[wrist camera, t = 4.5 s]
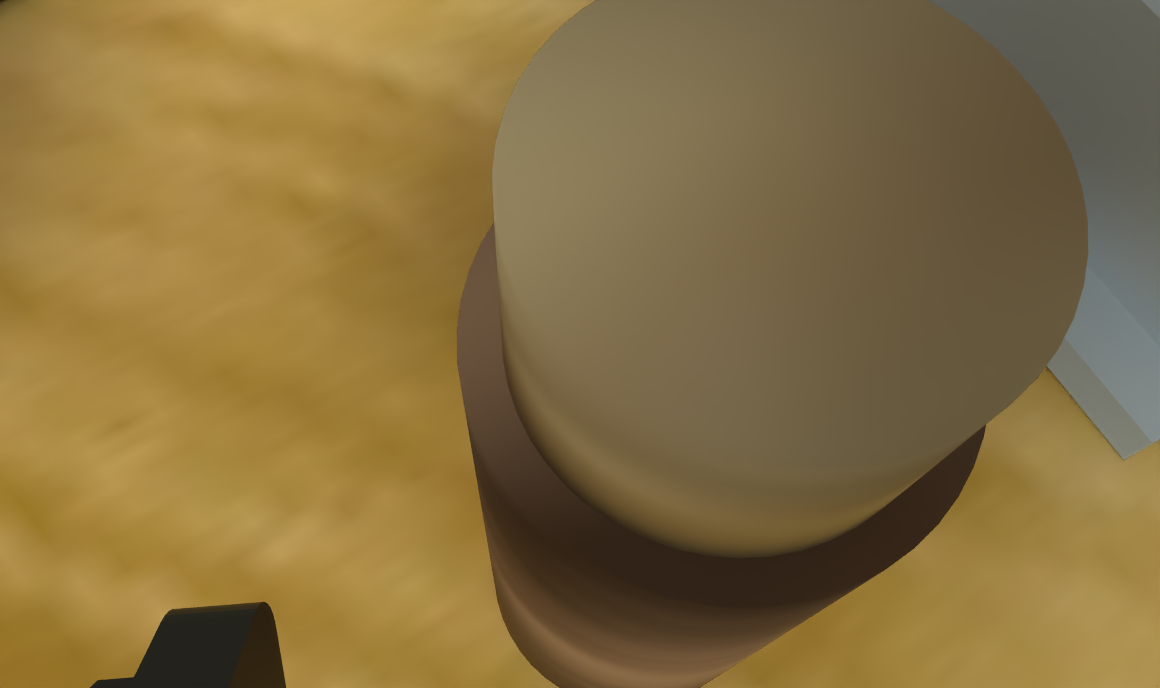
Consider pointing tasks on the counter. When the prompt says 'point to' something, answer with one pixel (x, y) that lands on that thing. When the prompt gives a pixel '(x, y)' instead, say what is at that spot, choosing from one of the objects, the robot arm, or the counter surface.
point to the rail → (1100, 188)
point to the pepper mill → (748, 316)
